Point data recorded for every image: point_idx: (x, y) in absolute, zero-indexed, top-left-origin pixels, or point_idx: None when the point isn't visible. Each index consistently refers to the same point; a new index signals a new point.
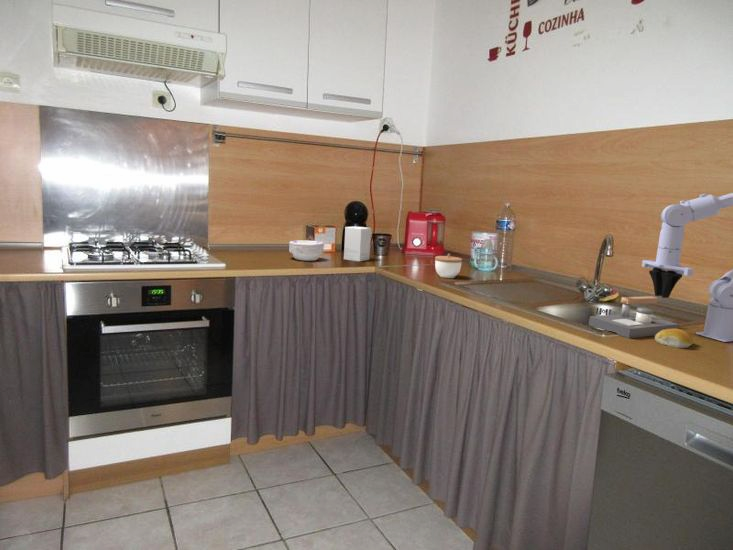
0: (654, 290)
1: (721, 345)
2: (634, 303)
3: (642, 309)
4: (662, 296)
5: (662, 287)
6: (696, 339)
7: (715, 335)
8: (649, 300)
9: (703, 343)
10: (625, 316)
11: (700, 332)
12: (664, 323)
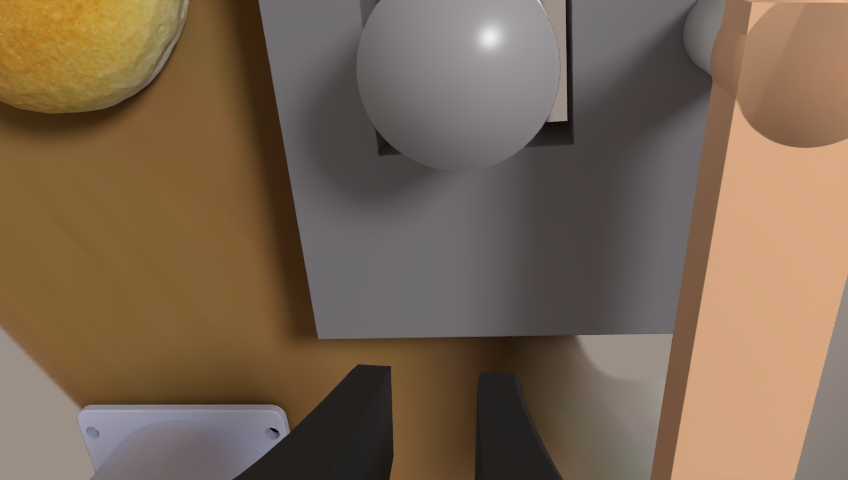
0: (523, 410)
1: (22, 317)
2: (704, 144)
3: (443, 5)
4: (371, 370)
5: (342, 447)
6: (163, 280)
7: (144, 433)
8: (672, 416)
9: (62, 229)
10: (697, 2)
11: (273, 443)
12: (353, 217)
